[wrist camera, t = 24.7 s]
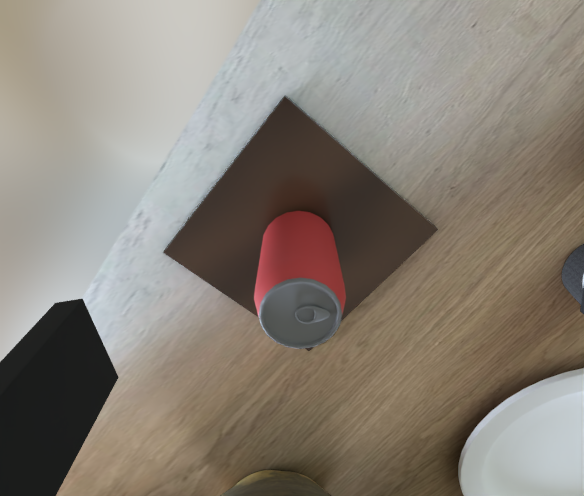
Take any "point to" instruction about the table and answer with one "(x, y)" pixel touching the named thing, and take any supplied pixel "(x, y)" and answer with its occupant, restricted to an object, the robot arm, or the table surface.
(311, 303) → the beer can
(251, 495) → the bowl
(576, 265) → the coffee cup
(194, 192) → the table surface
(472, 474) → the plate
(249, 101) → the table surface
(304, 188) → the back mat
